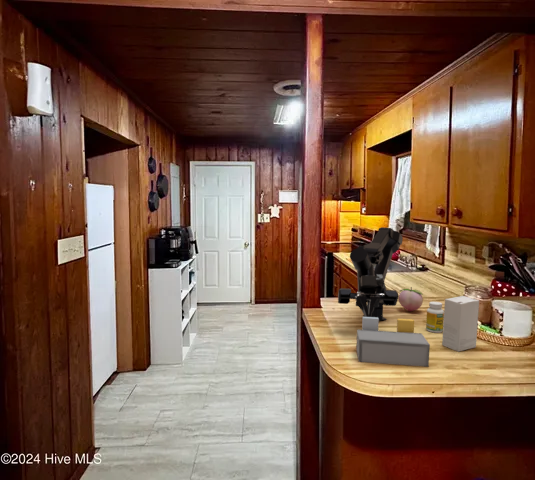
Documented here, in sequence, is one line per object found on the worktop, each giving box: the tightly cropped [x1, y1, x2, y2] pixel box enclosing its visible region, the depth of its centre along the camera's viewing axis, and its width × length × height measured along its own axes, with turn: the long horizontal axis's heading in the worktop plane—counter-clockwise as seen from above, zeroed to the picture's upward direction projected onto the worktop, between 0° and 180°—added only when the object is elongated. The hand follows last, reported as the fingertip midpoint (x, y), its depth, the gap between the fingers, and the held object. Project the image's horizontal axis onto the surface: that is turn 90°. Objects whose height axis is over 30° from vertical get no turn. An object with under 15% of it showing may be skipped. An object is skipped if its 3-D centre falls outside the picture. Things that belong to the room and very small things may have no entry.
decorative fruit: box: [398, 286, 424, 312], centre depth 154 cm, size 9×8×10 cm
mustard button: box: [396, 318, 415, 333], centre depth 109 cm, size 10×4×8 cm, turn 171°
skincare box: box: [441, 295, 480, 352], centre depth 116 cm, size 8×6×15 cm
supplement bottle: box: [425, 301, 444, 334], centre depth 131 cm, size 5×5×10 cm
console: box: [355, 329, 431, 368], centre depth 107 cm, size 9×18×6 cm, turn 81°
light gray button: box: [361, 316, 379, 331], centre depth 111 cm, size 10×4×8 cm, turn 171°
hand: (368, 320), depth 121 cm, fingers closed
